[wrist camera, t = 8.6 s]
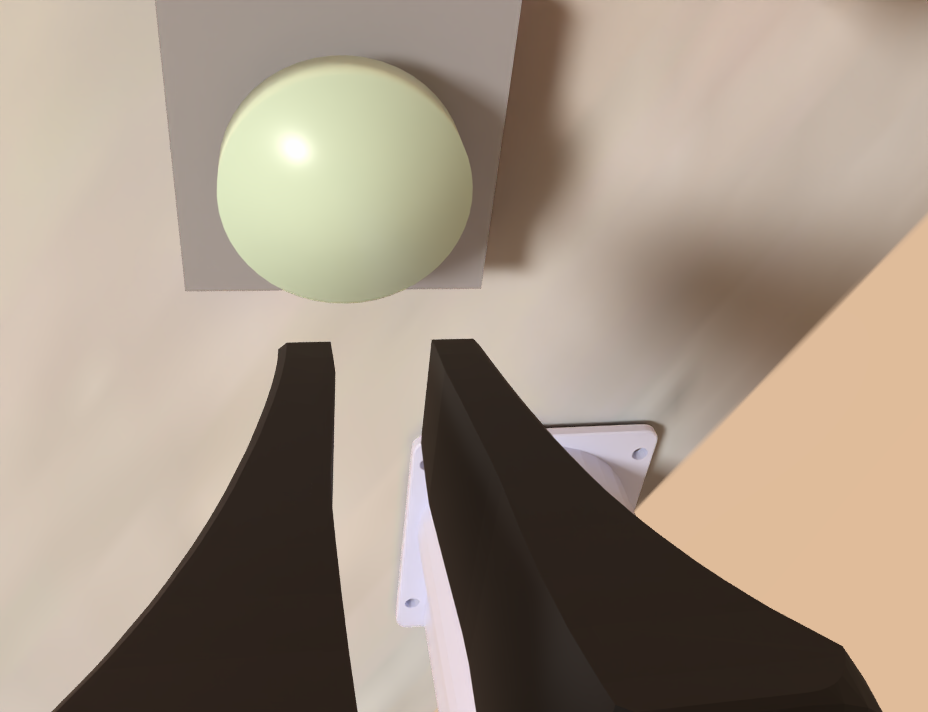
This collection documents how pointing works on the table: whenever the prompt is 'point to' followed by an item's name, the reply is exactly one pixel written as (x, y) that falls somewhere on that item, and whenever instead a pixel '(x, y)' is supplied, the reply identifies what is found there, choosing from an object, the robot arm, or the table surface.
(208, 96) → the button housing
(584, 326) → the table surface
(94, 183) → the table surface
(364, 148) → the button
